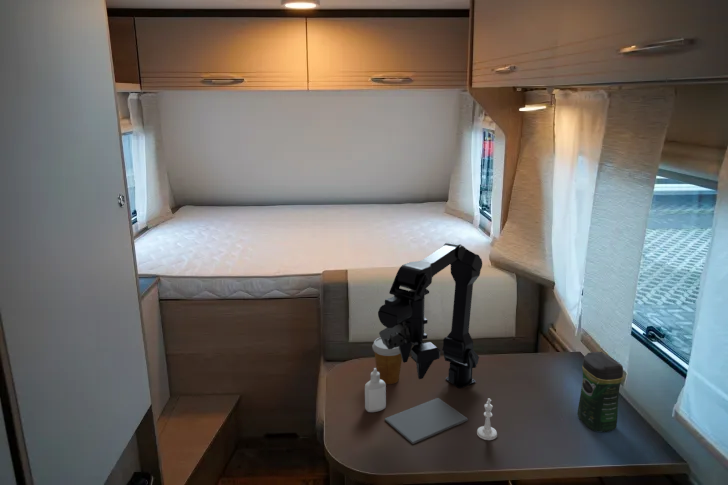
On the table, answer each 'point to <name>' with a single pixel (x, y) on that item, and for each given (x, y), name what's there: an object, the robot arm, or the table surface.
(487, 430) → the chess piece
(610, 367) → the coffee jar
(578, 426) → the table surface
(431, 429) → the slate mat
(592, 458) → the table surface
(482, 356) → the table surface
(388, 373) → the disposable coffee cup
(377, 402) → the eye dropper bottle
